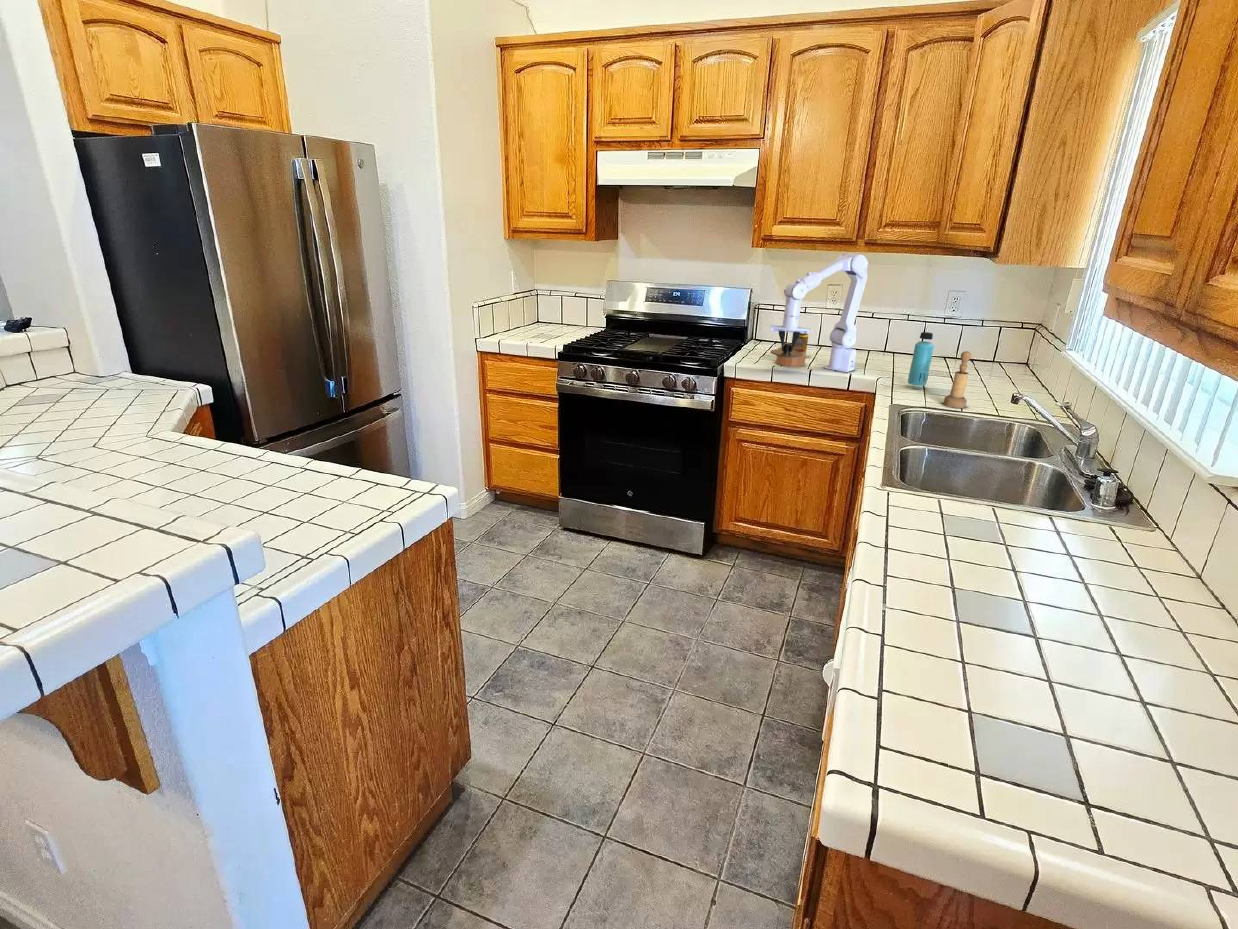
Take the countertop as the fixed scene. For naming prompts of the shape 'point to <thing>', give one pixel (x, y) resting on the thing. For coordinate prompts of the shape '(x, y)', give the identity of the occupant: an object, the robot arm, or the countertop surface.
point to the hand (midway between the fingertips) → (786, 351)
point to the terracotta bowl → (792, 359)
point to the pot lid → (786, 352)
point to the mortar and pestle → (959, 385)
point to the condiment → (802, 341)
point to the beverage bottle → (921, 360)
